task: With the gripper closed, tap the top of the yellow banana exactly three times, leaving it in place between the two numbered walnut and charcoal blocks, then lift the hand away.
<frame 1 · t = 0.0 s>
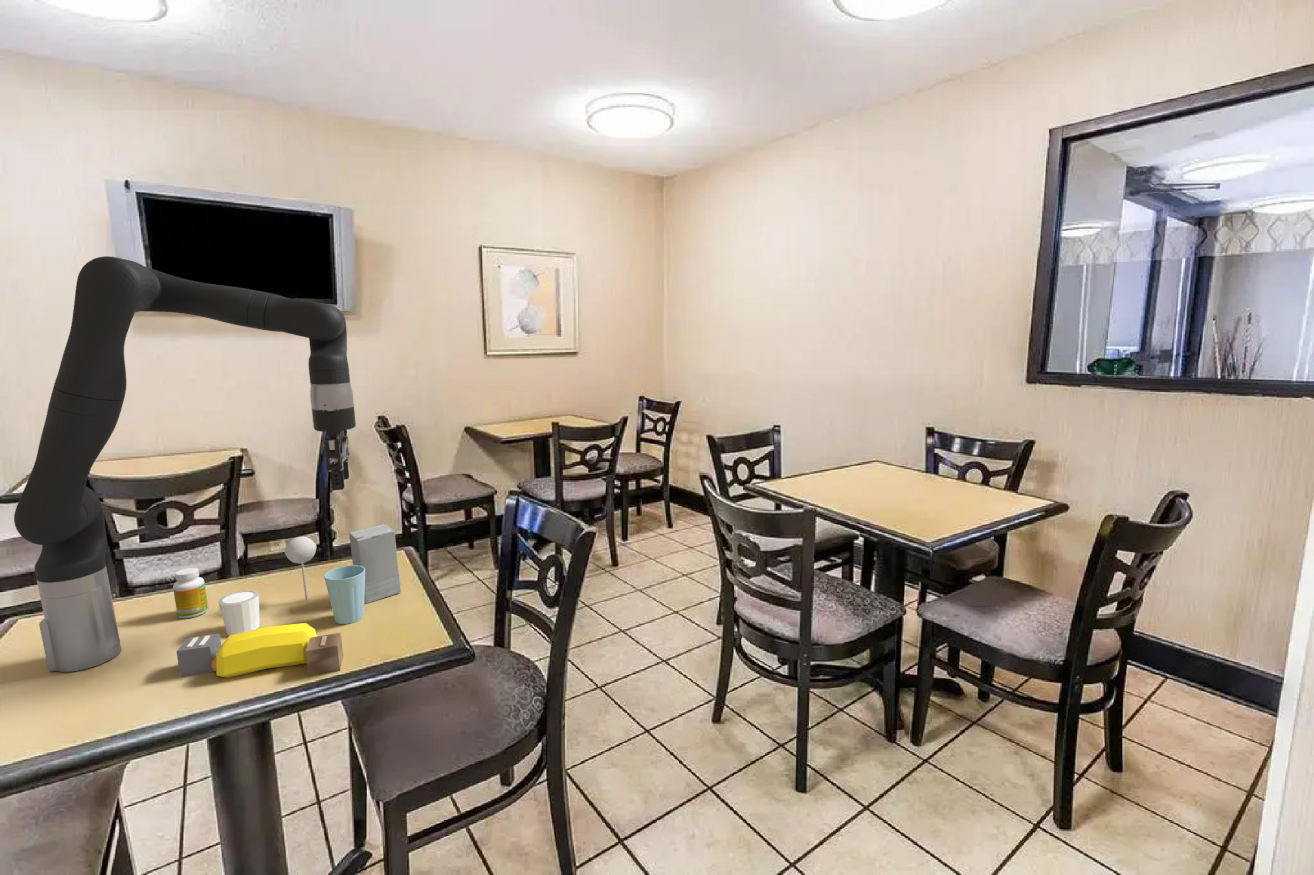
hand: (341, 484, 125), 29 cm above the table, tool pointing down, fingers open, 8 cm apart
cup: (349, 619, 130), on the table
walnut numbered block: (326, 666, 111), on the table
skincare box: (378, 596, 140), on the table
charcoal numbered block: (202, 667, 111), on the table
shot glass: (243, 629, 125), on the table
lollipop: (306, 601, 138), on the table
yellow banana: (270, 665, 112), on the table
supplement bottle: (193, 614, 132), on the table
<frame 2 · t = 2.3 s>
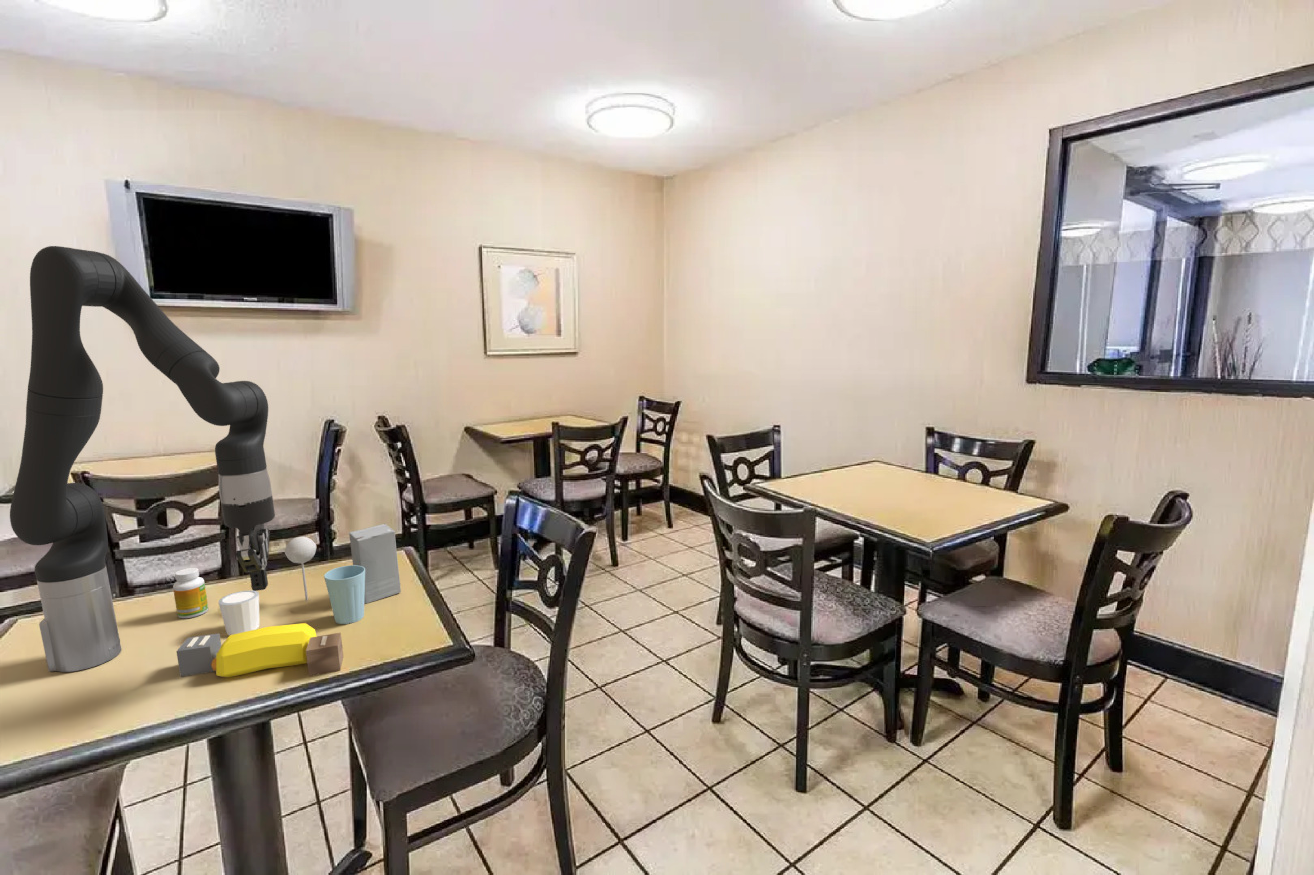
hand: (260, 588, 110), 15 cm above the table, tool pointing down, fingers closed
nothing on the table moved.
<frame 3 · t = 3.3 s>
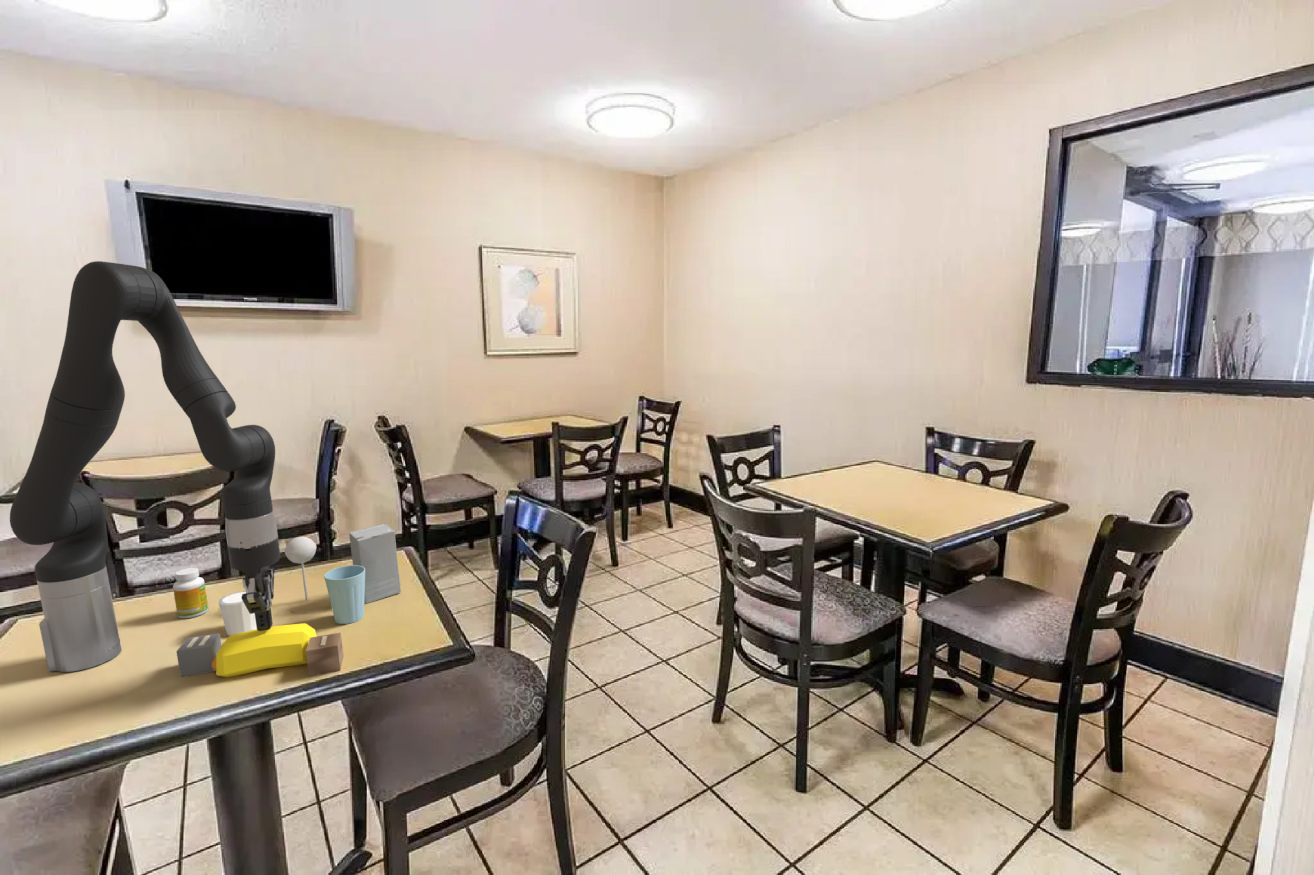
hand: (265, 628, 111), 7 cm above the table, tool pointing down, fingers closed
nothing on the table moved.
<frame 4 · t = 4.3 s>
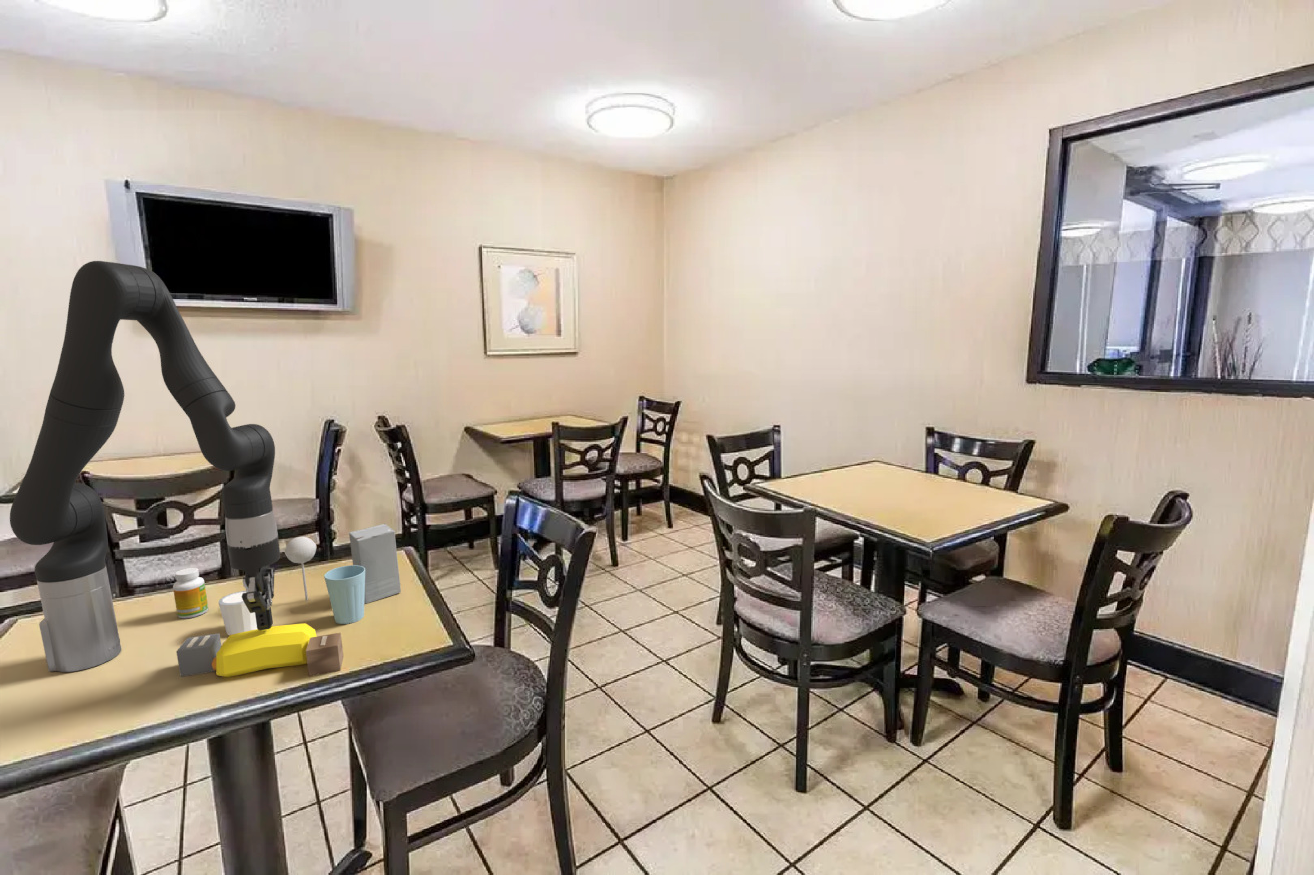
hand: (265, 627, 111), 7 cm above the table, tool pointing down, fingers closed
nothing on the table moved.
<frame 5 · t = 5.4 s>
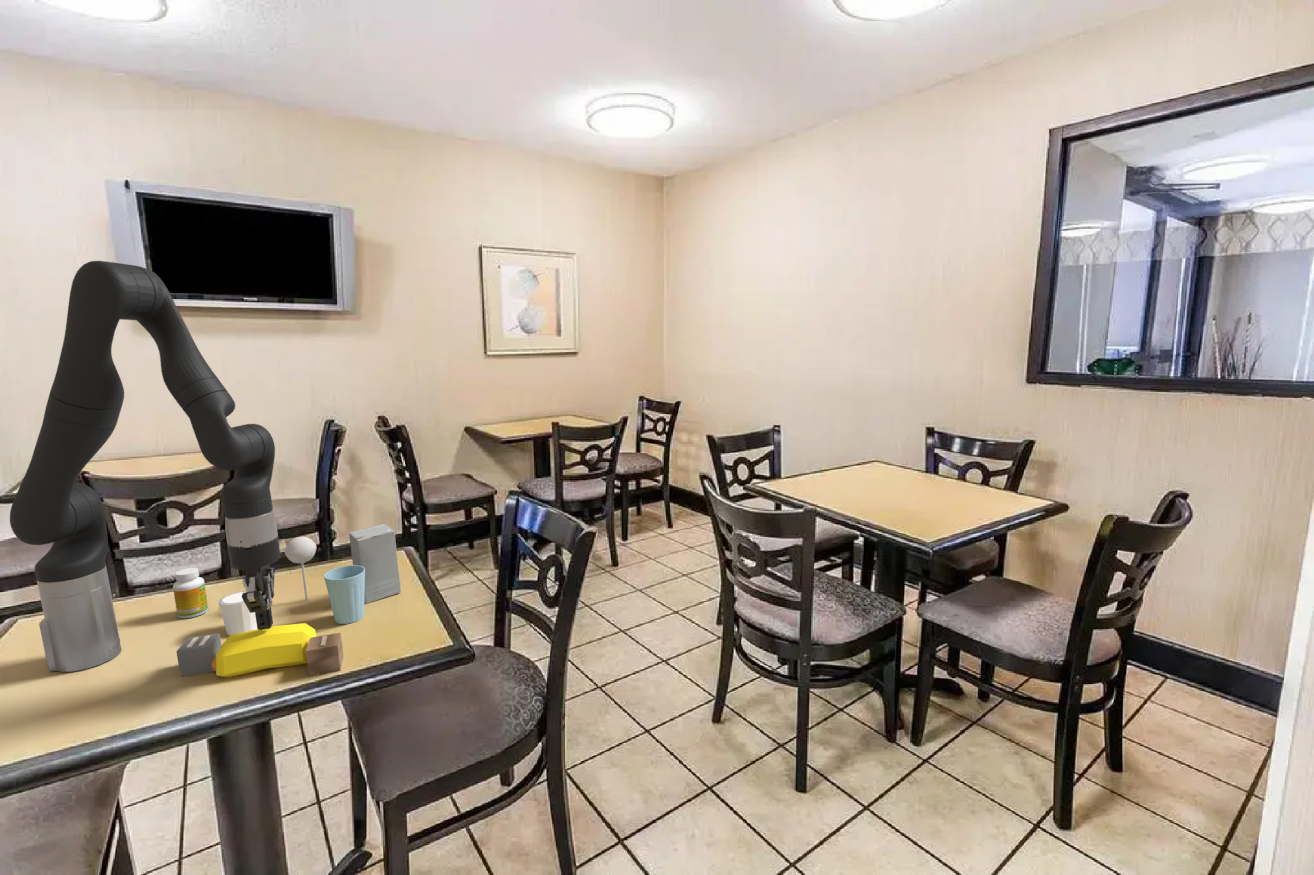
hand: (265, 627, 111), 7 cm above the table, tool pointing down, fingers closed
nothing on the table moved.
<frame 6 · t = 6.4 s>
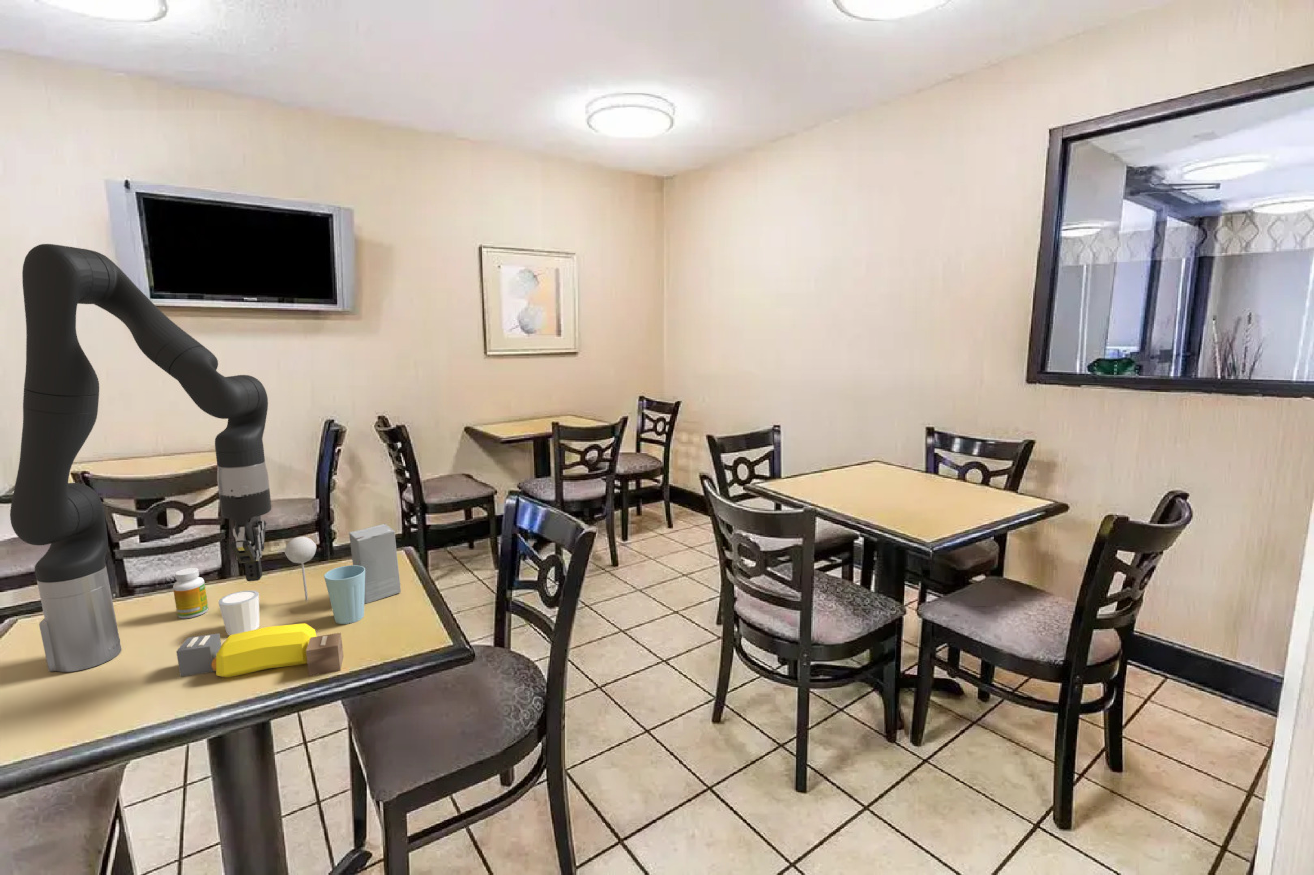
hand: (254, 579, 112), 15 cm above the table, tool pointing down, fingers closed
nothing on the table moved.
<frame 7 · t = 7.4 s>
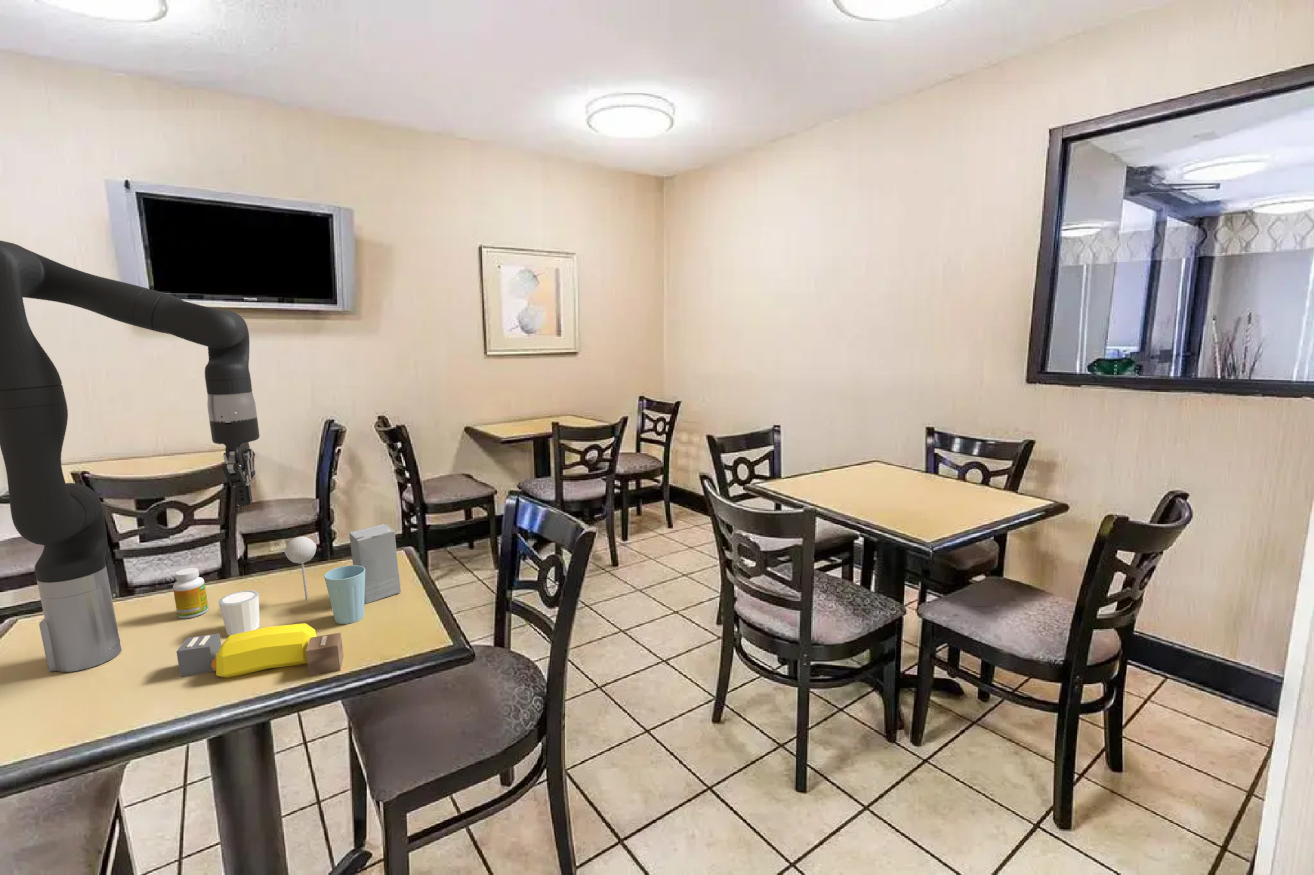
hand: (245, 504, 119), 27 cm above the table, tool pointing down, fingers closed
nothing on the table moved.
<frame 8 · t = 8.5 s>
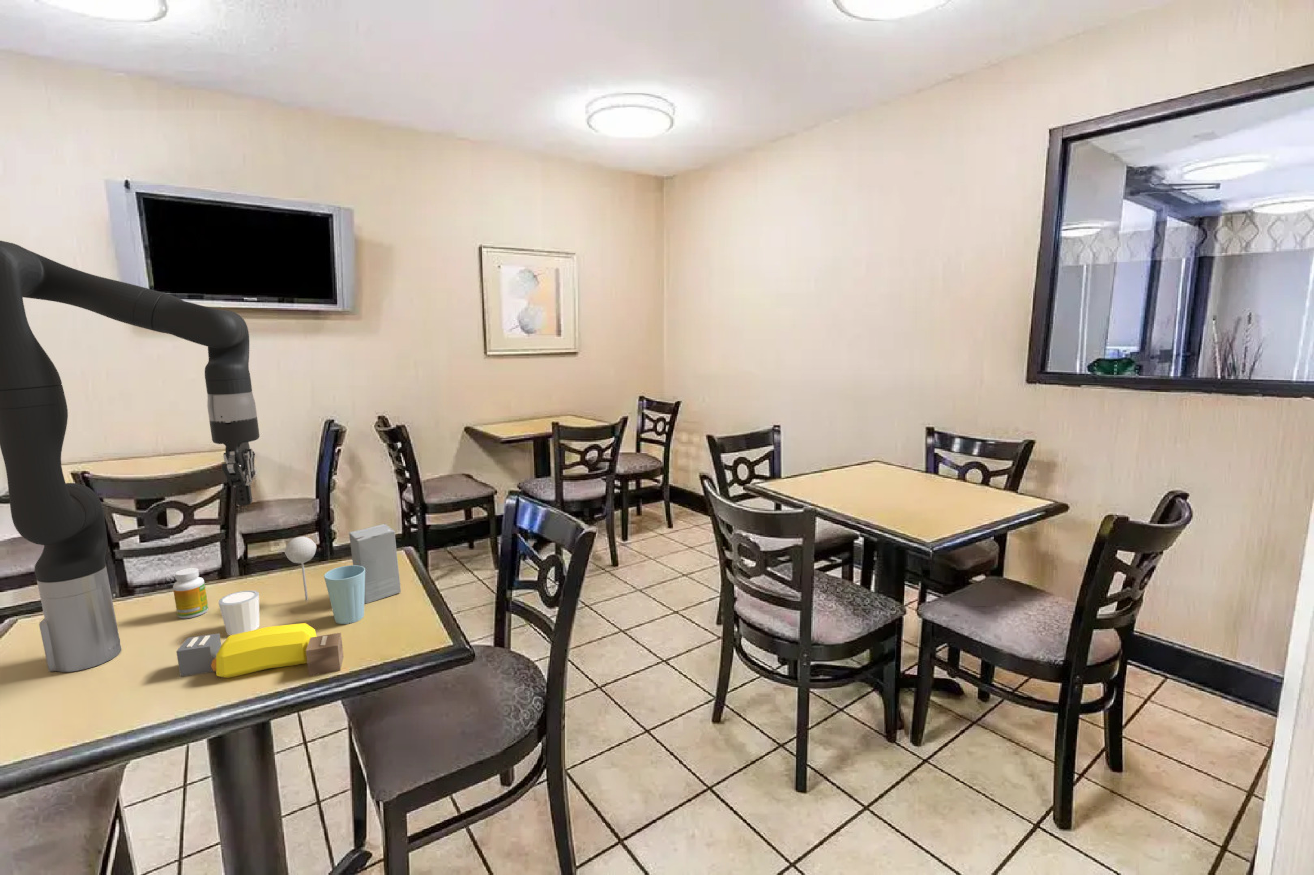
hand: (245, 504, 119), 27 cm above the table, tool pointing down, fingers closed
nothing on the table moved.
at the end: yellow banana moved 0.5 cm from its start; yellow banana tilted 2°; yellow banana touching table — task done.
